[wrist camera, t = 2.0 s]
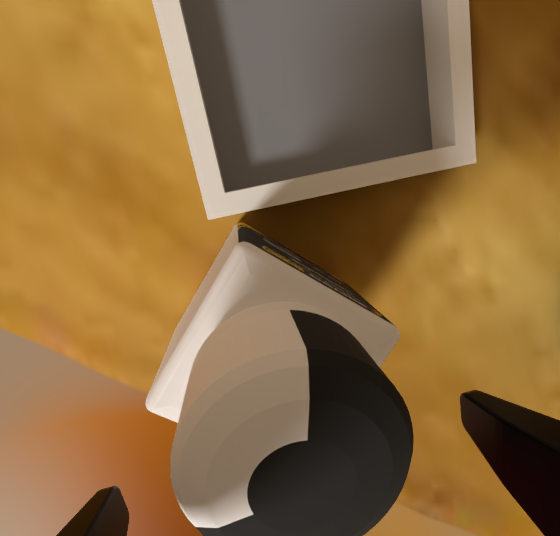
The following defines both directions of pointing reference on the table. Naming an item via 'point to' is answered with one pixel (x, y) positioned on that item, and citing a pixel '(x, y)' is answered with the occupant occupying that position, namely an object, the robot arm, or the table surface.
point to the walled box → (318, 94)
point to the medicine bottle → (281, 399)
